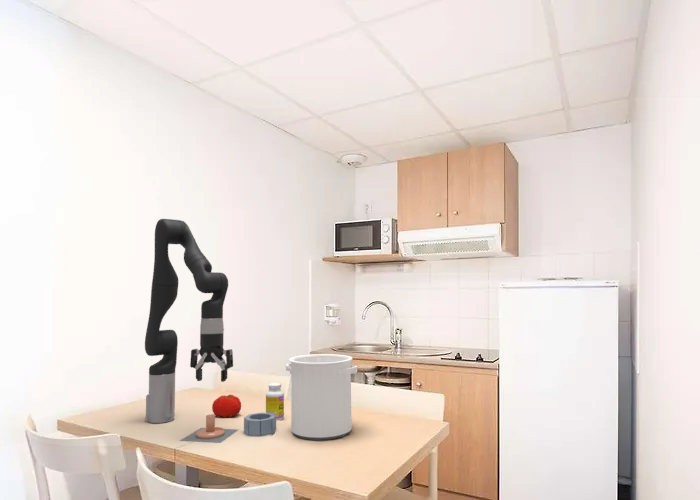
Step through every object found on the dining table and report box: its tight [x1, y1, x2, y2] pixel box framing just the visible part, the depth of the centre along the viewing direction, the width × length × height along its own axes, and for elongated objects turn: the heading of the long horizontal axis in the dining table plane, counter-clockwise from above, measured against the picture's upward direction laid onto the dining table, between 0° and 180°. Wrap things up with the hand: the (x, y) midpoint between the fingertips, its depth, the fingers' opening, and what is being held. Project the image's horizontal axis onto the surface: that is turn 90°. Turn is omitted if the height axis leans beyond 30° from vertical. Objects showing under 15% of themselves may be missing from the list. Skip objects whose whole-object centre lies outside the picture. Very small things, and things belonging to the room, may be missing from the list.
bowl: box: [243, 412, 277, 437], centre depth 161 cm, size 10×10×6 cm
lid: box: [196, 414, 225, 439], centre depth 158 cm, size 9×9×6 cm
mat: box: [179, 427, 239, 444], centre depth 158 cm, size 14×14×1 cm
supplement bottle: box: [265, 382, 285, 421], centre depth 178 cm, size 7×7×13 cm
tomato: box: [211, 394, 242, 419], centre depth 184 cm, size 11×11×8 cm
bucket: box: [285, 353, 358, 441], centre depth 163 cm, size 26×22×24 cm
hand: (211, 380), depth 160 cm, fingers open, 8 cm apart
